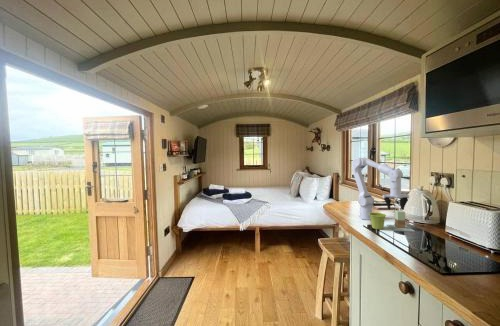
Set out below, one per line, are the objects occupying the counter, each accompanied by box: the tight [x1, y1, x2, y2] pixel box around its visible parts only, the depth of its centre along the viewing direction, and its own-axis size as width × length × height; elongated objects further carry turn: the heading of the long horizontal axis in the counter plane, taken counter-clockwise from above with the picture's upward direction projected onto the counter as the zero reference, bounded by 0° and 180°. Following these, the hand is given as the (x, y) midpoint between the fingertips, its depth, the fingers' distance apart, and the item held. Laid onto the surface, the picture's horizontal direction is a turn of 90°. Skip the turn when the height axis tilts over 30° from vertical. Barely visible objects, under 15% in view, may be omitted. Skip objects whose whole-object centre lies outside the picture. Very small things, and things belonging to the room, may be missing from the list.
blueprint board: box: [386, 224, 416, 233], centre depth 136 cm, size 11×11×1 cm
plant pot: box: [369, 212, 387, 230], centre depth 138 cm, size 9×9×9 cm
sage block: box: [394, 209, 406, 221], centre depth 136 cm, size 4×4×5 cm
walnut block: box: [394, 218, 406, 228], centre depth 136 cm, size 4×4×5 cm
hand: (395, 209), depth 142 cm, fingers open, 7 cm apart
